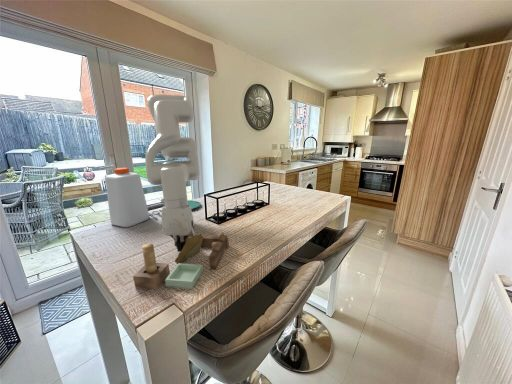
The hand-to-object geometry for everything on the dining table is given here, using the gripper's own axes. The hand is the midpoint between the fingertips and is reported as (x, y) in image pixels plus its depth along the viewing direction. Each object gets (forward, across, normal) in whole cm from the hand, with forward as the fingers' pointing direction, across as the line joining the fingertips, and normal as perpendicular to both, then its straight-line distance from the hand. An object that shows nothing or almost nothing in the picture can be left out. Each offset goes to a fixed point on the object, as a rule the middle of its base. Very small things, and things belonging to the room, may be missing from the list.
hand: (181, 249), depth 77 cm
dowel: (+3, -3, -14) cm, 14 cm away
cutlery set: (+3, -28, +48) cm, 55 cm away
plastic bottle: (+3, -43, +29) cm, 52 cm away
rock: (+2, +2, 0) cm, 3 cm away
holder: (+3, -3, -14) cm, 14 cm away
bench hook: (+3, +4, +1) cm, 5 cm away
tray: (+3, +7, -12) cm, 14 cm away
